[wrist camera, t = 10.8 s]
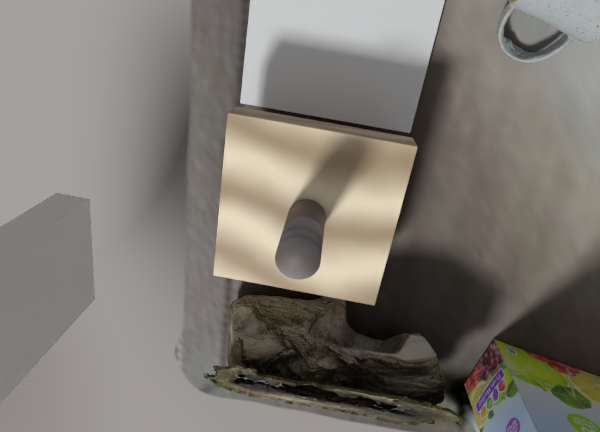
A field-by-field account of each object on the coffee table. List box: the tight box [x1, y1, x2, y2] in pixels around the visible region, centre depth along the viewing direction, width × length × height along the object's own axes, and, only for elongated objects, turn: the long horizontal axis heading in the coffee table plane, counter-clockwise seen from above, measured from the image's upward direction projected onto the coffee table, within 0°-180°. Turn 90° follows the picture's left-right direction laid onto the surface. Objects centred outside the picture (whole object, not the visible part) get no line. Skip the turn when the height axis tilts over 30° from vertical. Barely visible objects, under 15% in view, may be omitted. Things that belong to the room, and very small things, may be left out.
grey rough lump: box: [204, 295, 464, 425], centre depth 49 cm, size 28×13×15 cm
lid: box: [213, 106, 418, 306], centre depth 38 cm, size 16×16×11 cm
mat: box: [240, 0, 445, 133], centre depth 41 cm, size 17×17×1 cm
